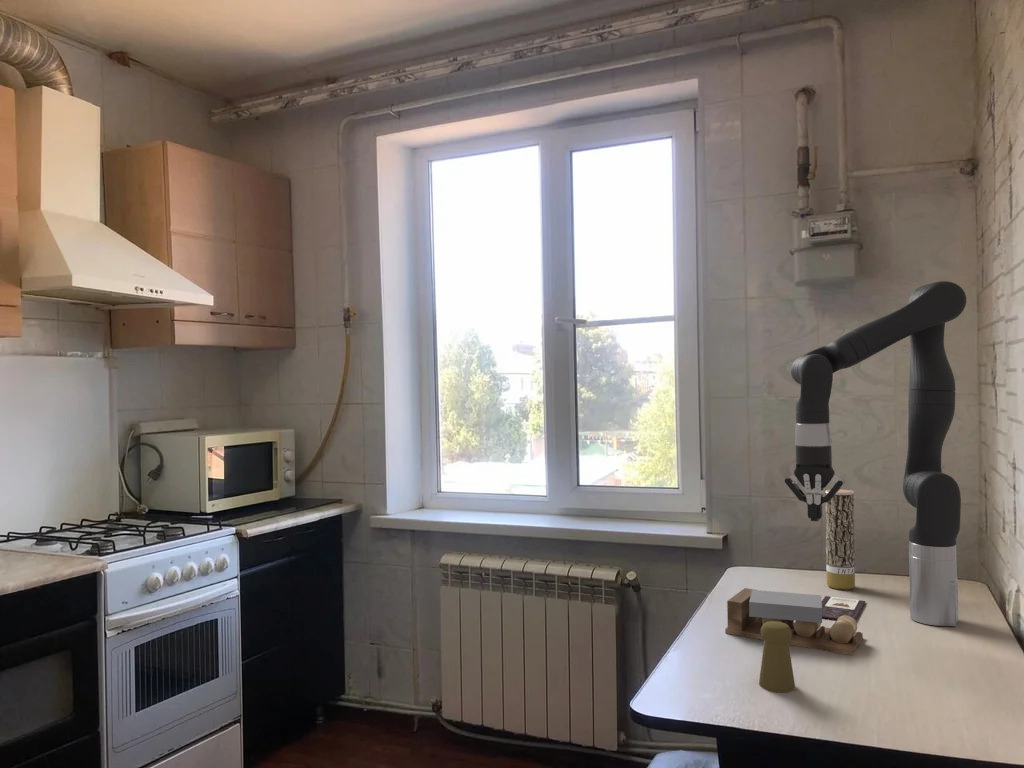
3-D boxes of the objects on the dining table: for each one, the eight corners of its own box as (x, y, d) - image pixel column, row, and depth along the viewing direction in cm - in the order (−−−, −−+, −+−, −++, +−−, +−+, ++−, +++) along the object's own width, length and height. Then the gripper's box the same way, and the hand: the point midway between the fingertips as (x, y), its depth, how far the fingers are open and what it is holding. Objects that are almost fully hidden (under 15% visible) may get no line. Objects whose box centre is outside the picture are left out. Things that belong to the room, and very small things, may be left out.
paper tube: (820, 585, 200) (819, 490, 200) (839, 582, 203) (838, 488, 203) (842, 591, 194) (840, 493, 194) (861, 588, 197) (859, 491, 197)
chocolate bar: (811, 614, 173) (825, 596, 188) (811, 619, 173) (825, 599, 188) (854, 620, 168) (865, 600, 184) (854, 625, 168) (865, 604, 184)
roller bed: (864, 638, 158) (863, 604, 158) (853, 655, 148) (852, 619, 148) (743, 618, 173) (742, 587, 173) (725, 633, 163) (725, 600, 163)
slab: (821, 609, 162) (821, 595, 162) (822, 623, 153) (821, 608, 153) (752, 603, 167) (752, 589, 167) (749, 616, 158) (749, 601, 158)
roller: (790, 624, 164) (787, 605, 165) (782, 632, 159) (779, 612, 159) (771, 623, 167) (769, 605, 167) (763, 631, 161) (760, 612, 162)
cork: (766, 676, 138) (765, 615, 138) (800, 684, 135) (799, 622, 135) (753, 686, 134) (752, 624, 134) (788, 695, 130) (787, 630, 130)
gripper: (778, 444, 171) (780, 521, 171) (841, 445, 164) (844, 525, 164) (786, 441, 177) (788, 516, 177) (847, 442, 170) (849, 520, 170)
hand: (815, 520), depth 171 cm, fingers closed
